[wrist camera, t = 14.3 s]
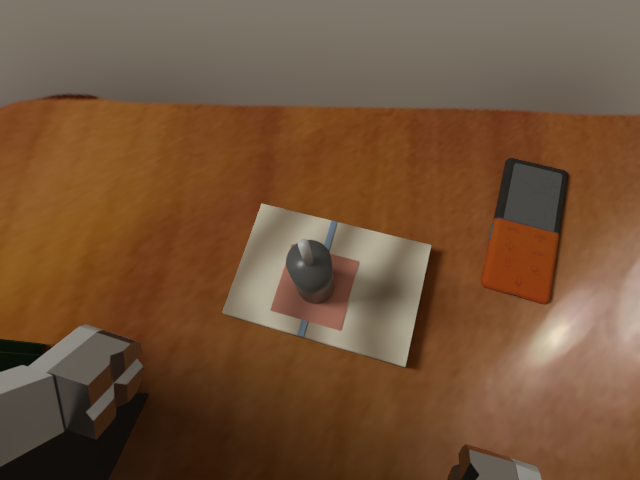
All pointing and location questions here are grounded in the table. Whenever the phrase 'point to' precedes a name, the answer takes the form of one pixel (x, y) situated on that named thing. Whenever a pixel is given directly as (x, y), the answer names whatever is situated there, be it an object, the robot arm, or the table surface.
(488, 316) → the table surface
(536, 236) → the phone
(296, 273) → the grey cylinder with rod
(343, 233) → the cream flat block
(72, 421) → the robot arm
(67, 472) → the binder
